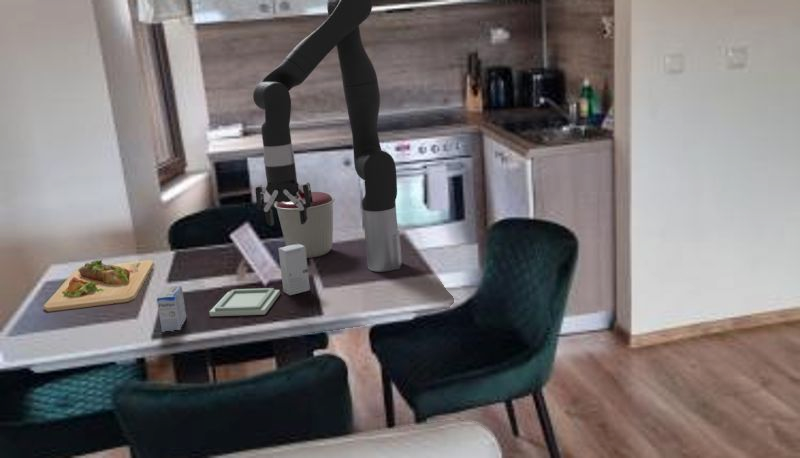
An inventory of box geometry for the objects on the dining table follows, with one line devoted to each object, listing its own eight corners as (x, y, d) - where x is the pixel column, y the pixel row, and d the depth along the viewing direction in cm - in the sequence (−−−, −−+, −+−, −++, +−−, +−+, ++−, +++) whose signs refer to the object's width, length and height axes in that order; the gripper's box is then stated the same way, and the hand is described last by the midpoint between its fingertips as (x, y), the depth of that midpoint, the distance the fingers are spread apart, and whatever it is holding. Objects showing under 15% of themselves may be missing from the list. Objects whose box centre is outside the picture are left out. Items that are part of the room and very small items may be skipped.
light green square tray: (280, 294, 198) (279, 287, 198) (265, 314, 185) (264, 307, 185) (228, 296, 200) (227, 289, 200) (210, 316, 187) (208, 309, 186)
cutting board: (133, 303, 203) (129, 276, 201) (42, 314, 200) (36, 287, 198) (155, 264, 236) (151, 241, 234) (77, 273, 234) (72, 250, 232)
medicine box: (168, 320, 187) (163, 287, 184) (187, 318, 187) (181, 285, 185) (162, 332, 179) (155, 298, 177) (181, 330, 179) (175, 296, 177)
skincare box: (290, 296, 196) (284, 251, 193) (282, 291, 200) (277, 247, 197) (311, 290, 200) (306, 246, 196) (303, 286, 203) (298, 242, 200)
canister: (273, 264, 225) (264, 194, 219) (290, 246, 242) (282, 181, 236) (333, 261, 222) (325, 191, 216) (345, 243, 239) (338, 178, 234)
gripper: (310, 158, 193) (317, 219, 197) (257, 160, 196) (265, 221, 200) (302, 163, 186) (310, 227, 190) (247, 166, 189) (256, 229, 193)
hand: (287, 224), depth 195 cm, fingers open, 8 cm apart
